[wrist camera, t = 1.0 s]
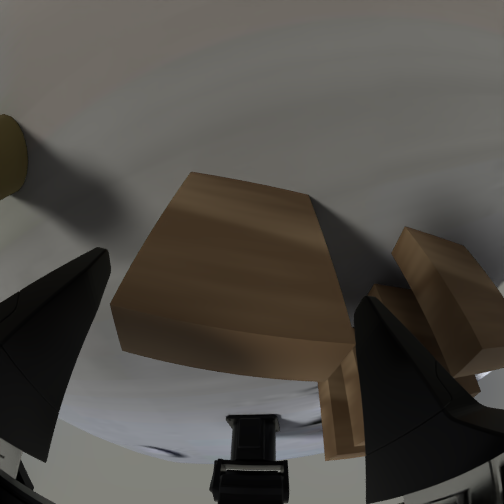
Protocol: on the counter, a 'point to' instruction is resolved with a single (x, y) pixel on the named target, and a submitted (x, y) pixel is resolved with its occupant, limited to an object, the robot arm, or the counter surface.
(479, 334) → the walnut domino
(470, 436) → the robot arm
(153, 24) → the counter surface
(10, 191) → the olive yellow rounded piece
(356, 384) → the walnut domino
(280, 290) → the walnut domino
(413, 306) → the walnut domino
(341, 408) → the walnut domino
